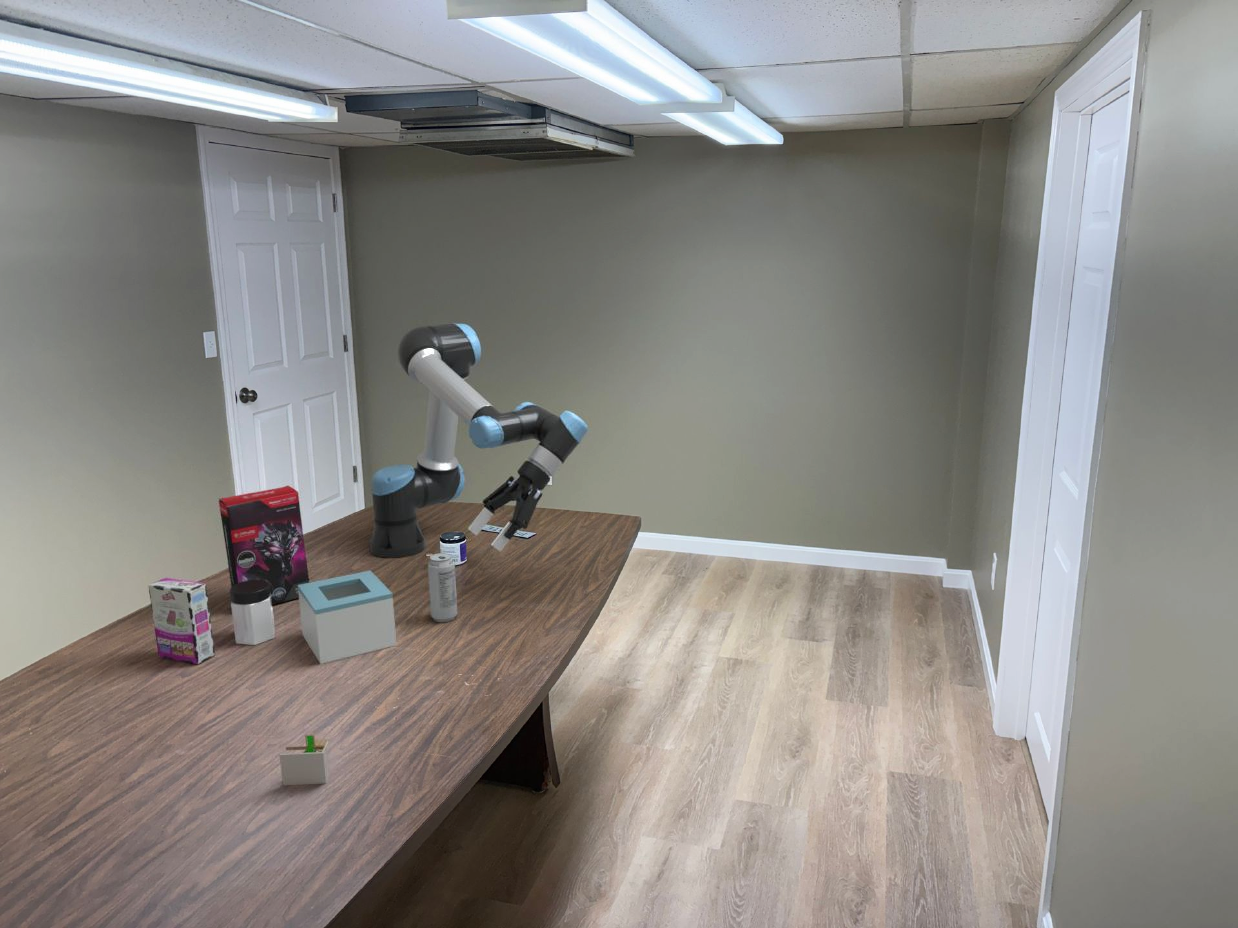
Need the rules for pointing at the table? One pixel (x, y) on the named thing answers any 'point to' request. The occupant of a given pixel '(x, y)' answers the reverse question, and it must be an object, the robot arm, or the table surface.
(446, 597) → the energy drink can
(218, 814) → the table surface
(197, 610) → the candy bar box
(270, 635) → the jar
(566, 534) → the table surface
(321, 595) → the recycling box
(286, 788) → the table surface
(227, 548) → the graphics card box
